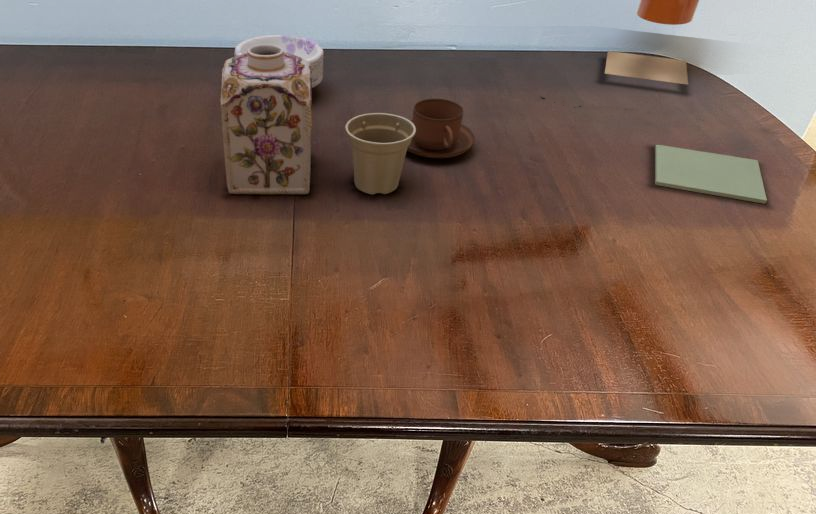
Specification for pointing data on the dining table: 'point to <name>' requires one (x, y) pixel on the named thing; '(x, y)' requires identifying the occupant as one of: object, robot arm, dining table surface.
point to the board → (646, 67)
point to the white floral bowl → (291, 51)
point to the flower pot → (378, 150)
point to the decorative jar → (267, 121)
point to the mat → (709, 173)
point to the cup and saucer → (439, 130)
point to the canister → (667, 11)
